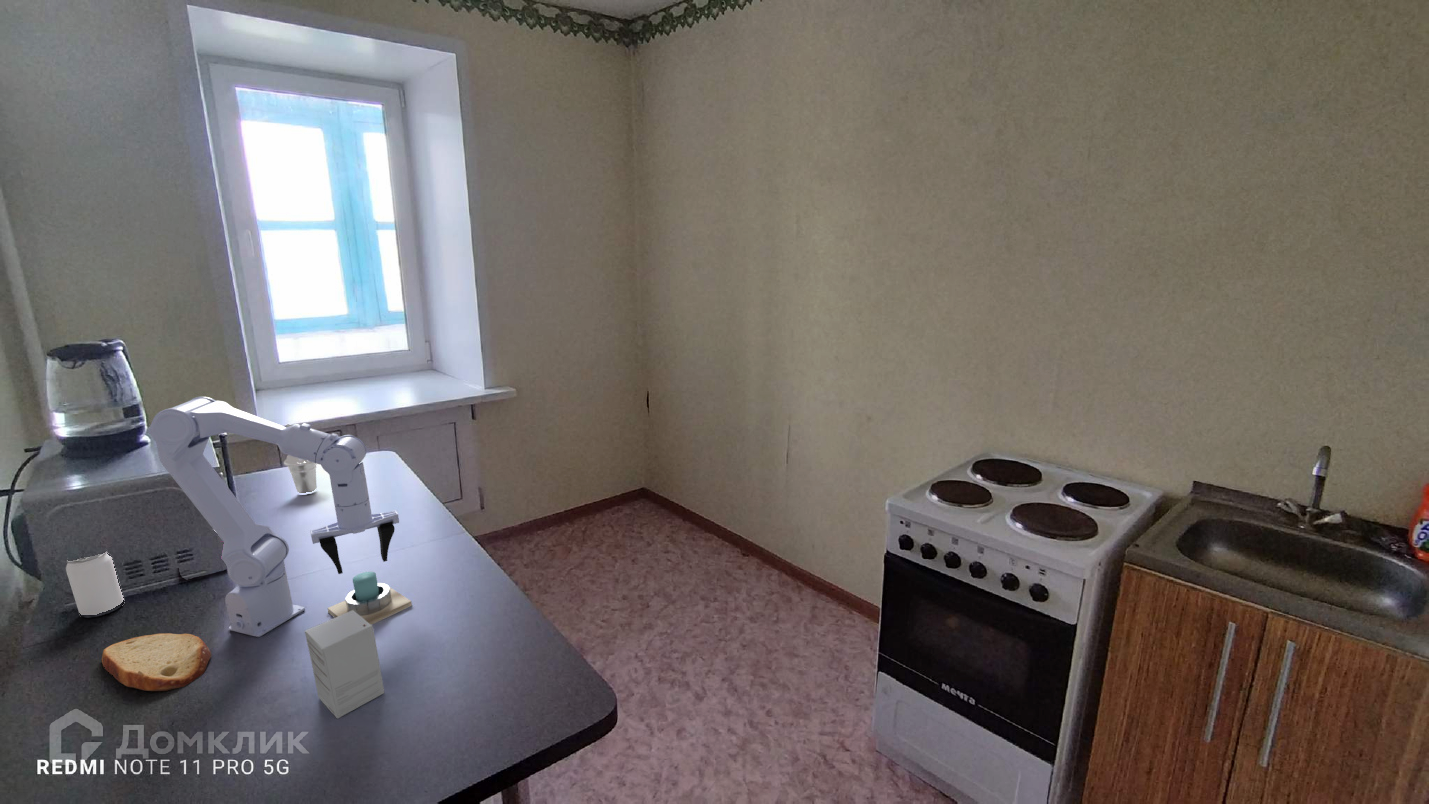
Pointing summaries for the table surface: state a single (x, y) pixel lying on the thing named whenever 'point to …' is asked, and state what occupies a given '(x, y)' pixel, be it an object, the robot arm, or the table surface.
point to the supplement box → (345, 662)
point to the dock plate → (395, 606)
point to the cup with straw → (302, 473)
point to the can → (94, 584)
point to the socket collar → (369, 601)
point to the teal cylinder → (366, 586)
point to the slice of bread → (157, 661)
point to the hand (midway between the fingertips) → (362, 565)
